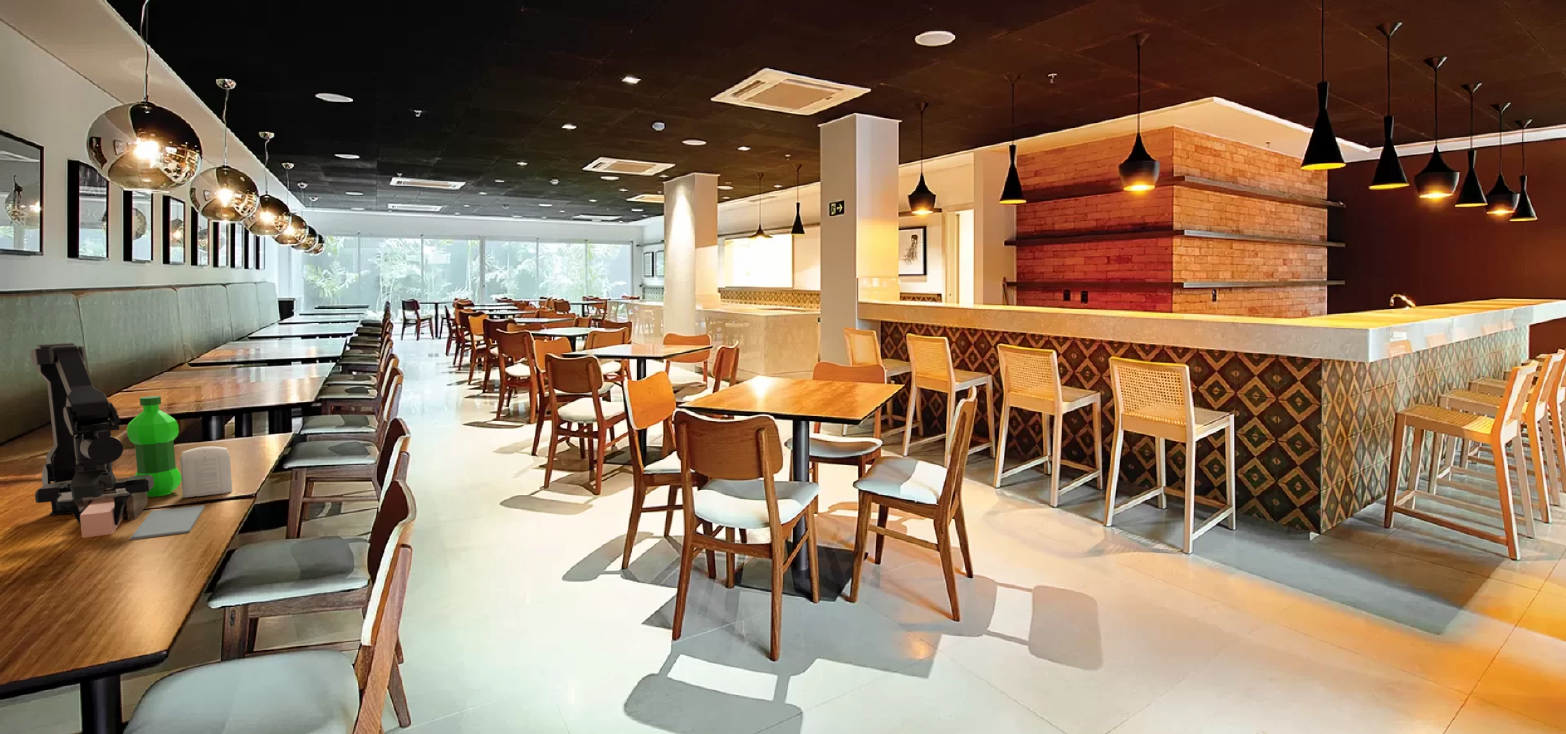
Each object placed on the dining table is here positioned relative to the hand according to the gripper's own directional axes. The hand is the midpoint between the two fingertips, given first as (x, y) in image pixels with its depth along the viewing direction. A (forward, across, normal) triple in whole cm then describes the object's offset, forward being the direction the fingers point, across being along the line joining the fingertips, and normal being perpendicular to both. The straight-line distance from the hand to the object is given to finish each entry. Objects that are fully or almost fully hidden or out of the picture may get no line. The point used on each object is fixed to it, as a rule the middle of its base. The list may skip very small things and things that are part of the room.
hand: (100, 526), depth 170 cm
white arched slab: (+1, +16, +24) cm, 29 cm away
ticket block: (+1, 0, +5) cm, 5 cm away
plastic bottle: (+1, +5, +30) cm, 30 cm away
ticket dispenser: (+1, 0, +13) cm, 13 cm away
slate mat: (+1, +12, 0) cm, 12 cm away
